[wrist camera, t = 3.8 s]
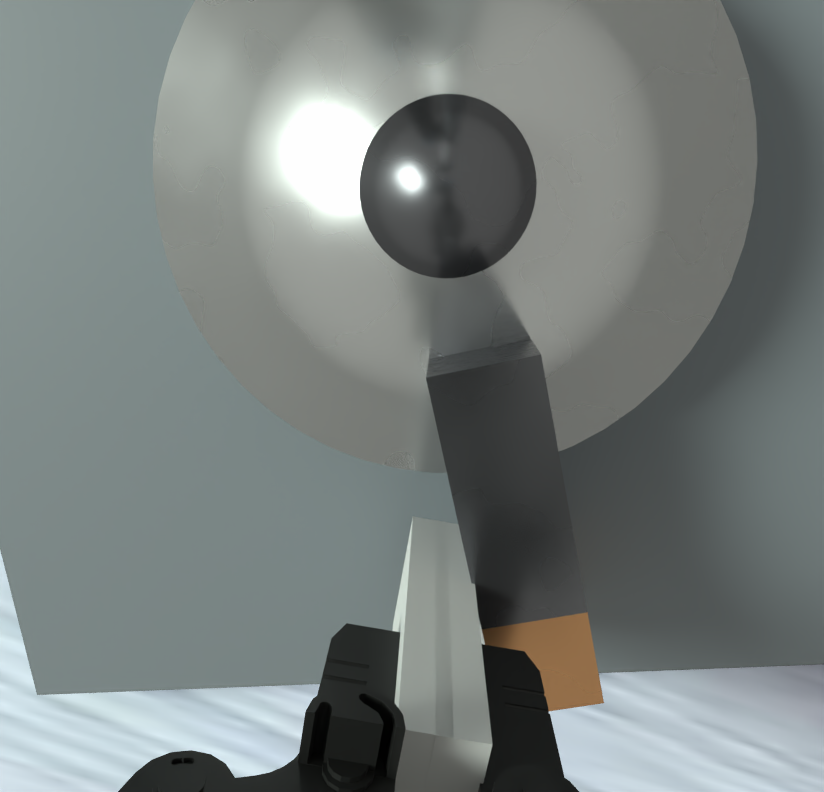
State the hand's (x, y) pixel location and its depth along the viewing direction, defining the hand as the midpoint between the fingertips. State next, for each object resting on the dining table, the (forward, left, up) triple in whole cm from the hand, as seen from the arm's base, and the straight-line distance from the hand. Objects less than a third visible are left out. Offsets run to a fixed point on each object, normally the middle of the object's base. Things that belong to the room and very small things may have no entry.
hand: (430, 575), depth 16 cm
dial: (-6, +1, -1) cm, 6 cm away
